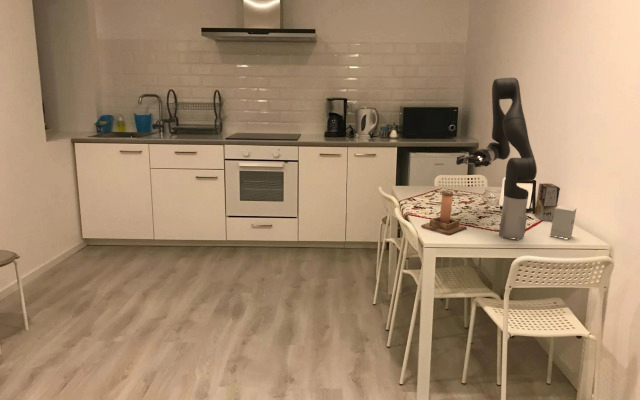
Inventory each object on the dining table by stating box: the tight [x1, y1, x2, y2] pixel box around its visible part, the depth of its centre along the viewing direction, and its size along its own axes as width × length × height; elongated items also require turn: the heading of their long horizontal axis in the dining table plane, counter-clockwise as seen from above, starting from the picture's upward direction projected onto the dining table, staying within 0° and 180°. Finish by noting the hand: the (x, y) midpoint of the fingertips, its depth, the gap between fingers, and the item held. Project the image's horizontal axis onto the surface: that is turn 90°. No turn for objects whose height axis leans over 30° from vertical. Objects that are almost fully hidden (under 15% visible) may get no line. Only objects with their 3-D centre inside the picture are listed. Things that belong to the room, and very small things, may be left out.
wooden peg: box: [439, 190, 454, 224], centre depth 223 cm, size 5×5×15 cm
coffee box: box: [534, 182, 561, 222], centre depth 245 cm, size 9×6×16 cm
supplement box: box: [550, 204, 577, 239], centre depth 219 cm, size 7×7×13 cm
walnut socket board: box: [420, 216, 468, 236], centre depth 225 cm, size 14×14×4 cm
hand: (466, 163), depth 225 cm, fingers open, 8 cm apart
